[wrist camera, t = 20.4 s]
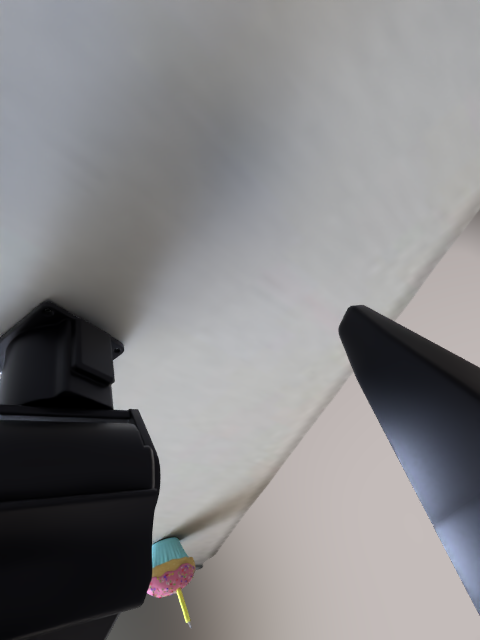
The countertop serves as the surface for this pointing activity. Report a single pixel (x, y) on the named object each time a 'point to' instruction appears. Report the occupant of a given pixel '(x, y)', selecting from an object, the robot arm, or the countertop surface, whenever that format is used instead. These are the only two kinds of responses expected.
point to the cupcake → (170, 571)
